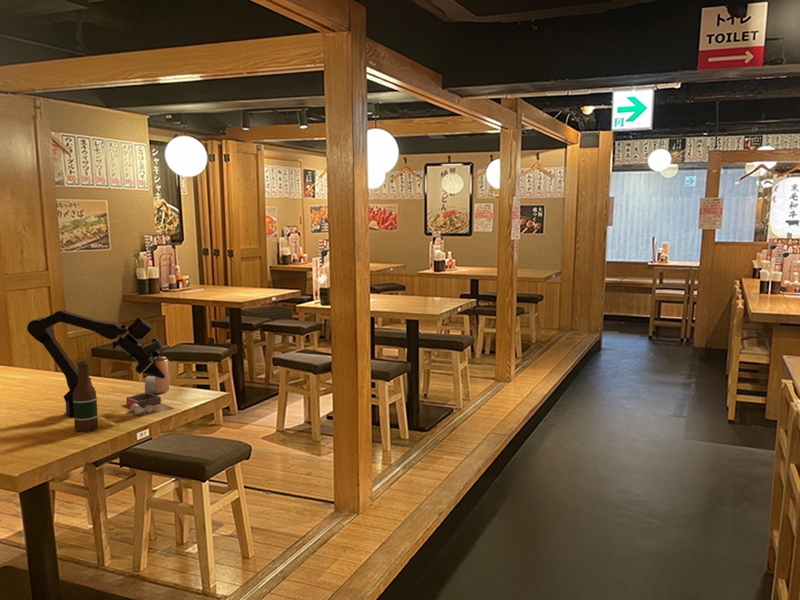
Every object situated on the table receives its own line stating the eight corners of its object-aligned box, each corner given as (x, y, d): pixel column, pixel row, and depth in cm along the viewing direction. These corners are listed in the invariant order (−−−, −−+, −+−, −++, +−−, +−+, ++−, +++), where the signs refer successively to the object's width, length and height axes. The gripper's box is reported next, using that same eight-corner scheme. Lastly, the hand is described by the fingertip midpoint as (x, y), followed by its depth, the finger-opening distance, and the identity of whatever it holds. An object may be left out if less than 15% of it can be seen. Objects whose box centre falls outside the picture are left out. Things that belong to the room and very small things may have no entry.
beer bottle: (92, 424, 223) (89, 358, 220) (103, 429, 218) (99, 361, 215) (69, 429, 217) (65, 361, 214) (80, 434, 212) (76, 365, 209)
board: (140, 418, 229) (139, 416, 229) (126, 413, 236) (126, 411, 236) (175, 410, 240) (175, 408, 240) (161, 405, 246) (161, 403, 246)
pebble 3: (147, 414, 232) (146, 406, 231) (143, 413, 234) (142, 405, 233) (154, 412, 234) (154, 405, 234) (150, 411, 236) (150, 403, 236)
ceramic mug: (165, 395, 260) (165, 377, 259) (144, 396, 258) (143, 378, 257) (169, 389, 270) (168, 372, 269) (149, 390, 268) (148, 373, 267)
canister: (159, 393, 235) (158, 359, 234) (152, 390, 239) (151, 357, 237) (171, 390, 239) (170, 357, 238) (164, 388, 242) (163, 355, 241)
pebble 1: (133, 413, 233) (132, 405, 233) (129, 411, 235) (129, 403, 235) (141, 411, 236) (140, 403, 235) (137, 409, 238) (136, 402, 237)
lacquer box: (138, 410, 239) (137, 401, 238) (126, 406, 245) (126, 397, 244) (160, 405, 246) (160, 396, 245) (149, 401, 252) (148, 392, 251)
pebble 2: (136, 416, 230) (136, 408, 229) (132, 414, 232) (132, 406, 231) (144, 414, 232) (144, 406, 232) (140, 412, 234) (140, 404, 234)
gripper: (144, 337, 226) (177, 366, 230) (153, 328, 244) (184, 355, 248) (121, 359, 226) (155, 388, 229) (132, 349, 244) (163, 375, 247)
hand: (165, 375), depth 238 cm, fingers closed on canister, 5 cm apart
